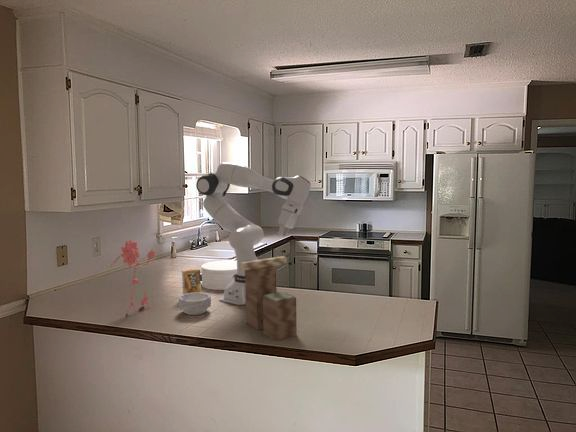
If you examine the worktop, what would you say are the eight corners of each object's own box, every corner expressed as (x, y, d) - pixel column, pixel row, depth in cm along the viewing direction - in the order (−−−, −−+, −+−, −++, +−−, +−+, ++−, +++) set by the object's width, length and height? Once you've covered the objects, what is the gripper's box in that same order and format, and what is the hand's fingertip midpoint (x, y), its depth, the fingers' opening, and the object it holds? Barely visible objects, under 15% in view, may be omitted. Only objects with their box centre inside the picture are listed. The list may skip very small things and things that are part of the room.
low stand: (283, 328, 205) (282, 291, 203) (296, 335, 197) (296, 296, 195) (263, 333, 199) (262, 294, 197) (276, 340, 191) (275, 300, 189)
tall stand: (265, 319, 217) (264, 263, 214) (277, 325, 209) (276, 267, 206) (246, 323, 212) (244, 266, 209) (257, 329, 203) (256, 270, 200)
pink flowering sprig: (162, 303, 243) (157, 236, 239) (126, 319, 219) (121, 245, 216) (138, 301, 249) (133, 235, 245) (101, 316, 226) (95, 244, 222)
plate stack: (195, 289, 271) (194, 269, 270) (210, 277, 298) (209, 259, 297) (243, 290, 267) (242, 270, 266) (253, 278, 295) (253, 260, 293)
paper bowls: (215, 313, 226) (215, 297, 225) (184, 319, 219) (184, 302, 218) (205, 305, 239) (204, 290, 239) (175, 310, 232) (174, 294, 231)
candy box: (198, 295, 257) (197, 268, 255) (201, 297, 253) (200, 269, 252) (182, 298, 253) (181, 270, 251) (185, 300, 249) (184, 271, 247)
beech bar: (283, 262, 216) (283, 256, 215) (287, 263, 213) (286, 257, 213) (240, 269, 204) (240, 262, 203) (243, 270, 201) (243, 263, 201)
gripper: (291, 208, 241) (280, 234, 240) (282, 204, 221) (270, 231, 221) (302, 213, 239) (292, 238, 239) (294, 209, 219) (283, 236, 219)
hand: (281, 235), depth 230 cm, fingers open, 8 cm apart
